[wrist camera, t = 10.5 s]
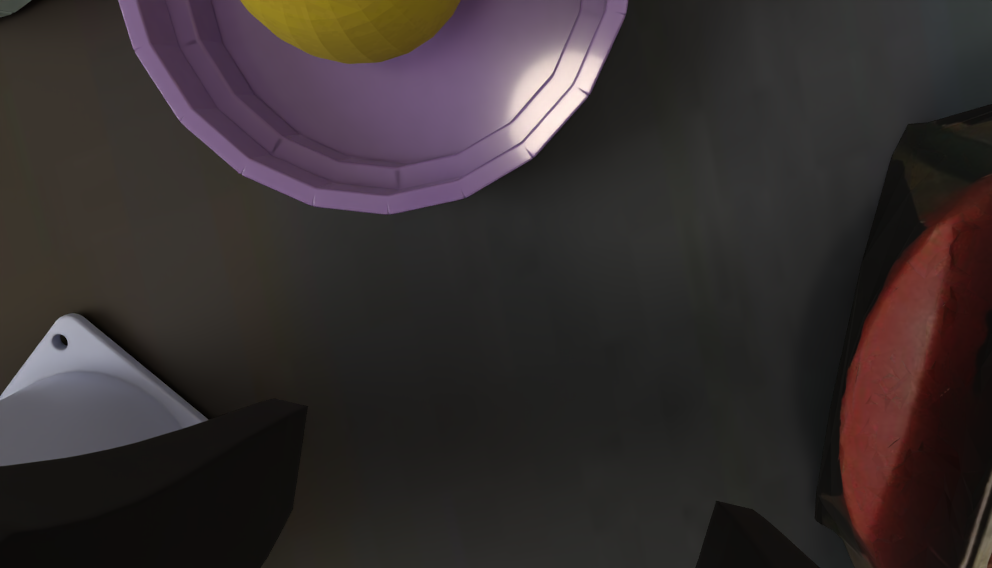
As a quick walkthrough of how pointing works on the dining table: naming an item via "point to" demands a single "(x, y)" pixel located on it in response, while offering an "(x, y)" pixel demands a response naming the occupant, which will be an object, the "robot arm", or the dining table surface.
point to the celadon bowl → (11, 6)
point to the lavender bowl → (377, 97)
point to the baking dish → (919, 363)
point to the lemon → (353, 25)
